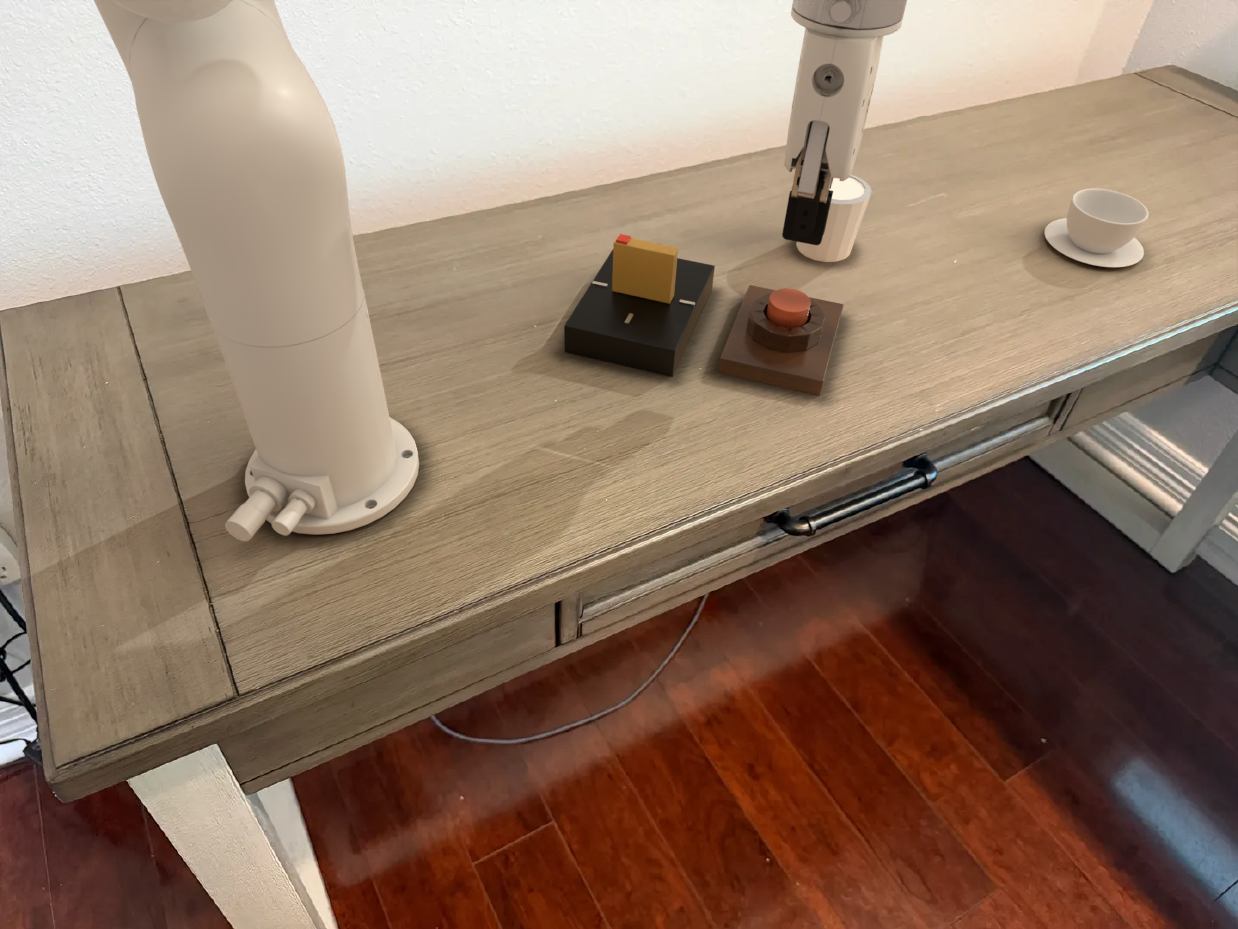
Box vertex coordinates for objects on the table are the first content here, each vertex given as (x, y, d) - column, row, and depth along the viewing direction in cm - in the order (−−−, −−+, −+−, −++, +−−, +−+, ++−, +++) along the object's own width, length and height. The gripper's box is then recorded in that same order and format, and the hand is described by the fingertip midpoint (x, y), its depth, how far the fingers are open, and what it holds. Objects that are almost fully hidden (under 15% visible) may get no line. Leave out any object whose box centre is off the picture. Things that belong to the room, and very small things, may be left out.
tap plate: (672, 378, 77) (675, 348, 75) (564, 353, 79) (563, 324, 77) (711, 292, 87) (715, 263, 84) (614, 271, 89) (615, 243, 86)
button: (803, 332, 77) (807, 315, 76) (762, 323, 78) (765, 306, 77) (810, 309, 80) (814, 292, 78) (770, 301, 80) (773, 284, 79)
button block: (819, 396, 76) (827, 364, 73) (717, 373, 78) (721, 341, 75) (840, 318, 84) (848, 287, 82) (747, 299, 86) (751, 267, 83)
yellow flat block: (674, 295, 81) (678, 244, 77) (669, 304, 80) (674, 252, 76) (616, 283, 82) (618, 232, 78) (611, 291, 81) (613, 240, 77)
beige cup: (780, 254, 92) (792, 191, 87) (803, 224, 96) (815, 163, 91) (845, 273, 90) (860, 209, 85) (864, 242, 94) (880, 180, 89)
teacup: (1130, 282, 90) (1151, 241, 87) (1031, 250, 94) (1048, 209, 91) (1150, 240, 96) (1170, 200, 93) (1056, 212, 100) (1073, 172, 97)
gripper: (894, 41, 54) (834, 295, 67) (916, -30, 65) (860, 202, 78) (773, 24, 56) (737, 275, 69) (813, -43, 66) (775, 187, 79)
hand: (802, 236), depth 73 cm, fingers closed
